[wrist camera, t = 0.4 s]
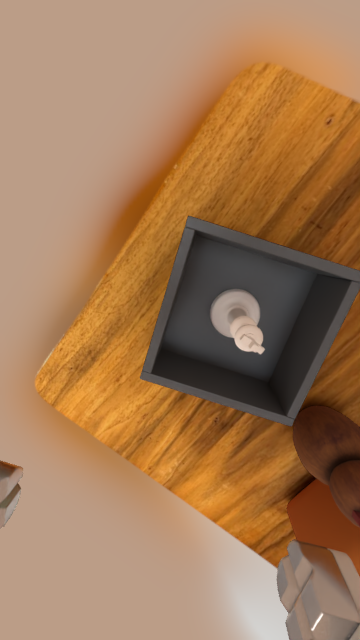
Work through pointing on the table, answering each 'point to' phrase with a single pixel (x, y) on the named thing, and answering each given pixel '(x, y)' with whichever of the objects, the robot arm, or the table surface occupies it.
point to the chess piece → (238, 319)
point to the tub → (275, 323)
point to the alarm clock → (323, 522)
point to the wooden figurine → (331, 454)
